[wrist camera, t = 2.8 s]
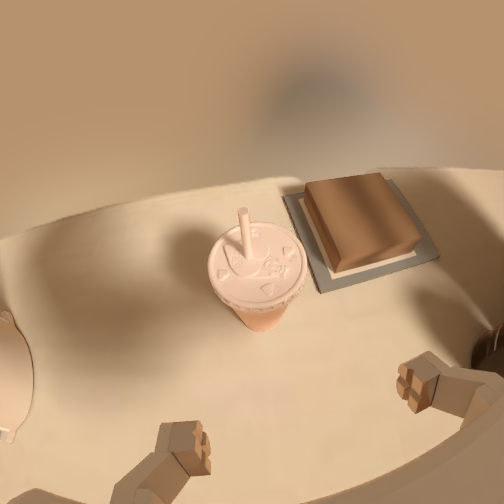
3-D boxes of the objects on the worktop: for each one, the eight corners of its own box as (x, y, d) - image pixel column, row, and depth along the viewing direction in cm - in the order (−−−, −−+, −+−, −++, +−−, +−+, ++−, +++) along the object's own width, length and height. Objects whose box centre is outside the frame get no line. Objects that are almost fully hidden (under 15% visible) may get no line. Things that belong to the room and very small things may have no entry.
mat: (320, 293, 26) (321, 291, 25) (283, 198, 33) (283, 195, 32) (438, 257, 27) (440, 255, 26) (390, 181, 34) (391, 179, 34)
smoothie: (247, 273, 28) (230, 161, 16) (306, 298, 26) (333, 193, 14) (215, 327, 25) (164, 240, 13) (277, 358, 23) (286, 295, 11)
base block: (334, 273, 26) (341, 257, 24) (303, 201, 32) (305, 182, 29) (411, 252, 27) (422, 236, 25) (373, 189, 32) (379, 172, 30)
